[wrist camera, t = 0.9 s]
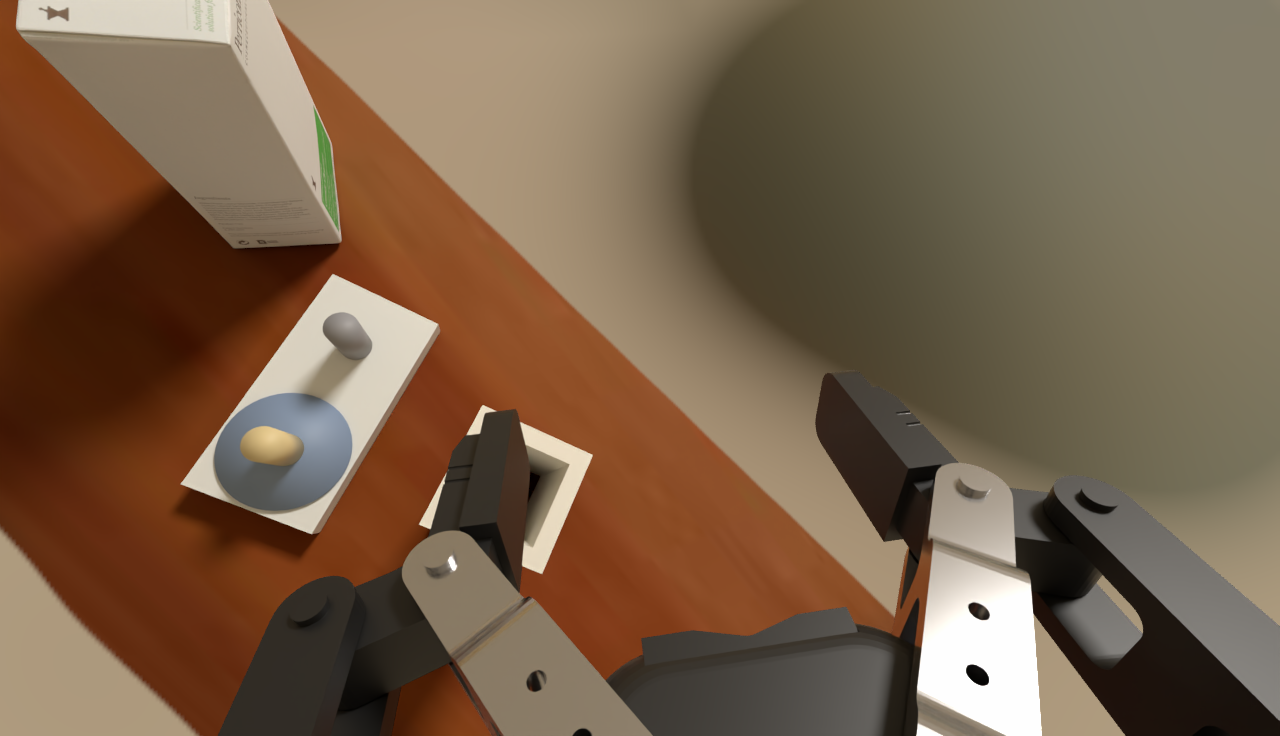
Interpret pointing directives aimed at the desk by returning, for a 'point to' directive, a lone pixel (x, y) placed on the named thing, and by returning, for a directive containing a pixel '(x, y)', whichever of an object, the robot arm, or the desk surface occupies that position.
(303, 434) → the pin board
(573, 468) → the sleeve
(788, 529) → the desk surface
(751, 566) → the desk surface
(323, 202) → the skincare box
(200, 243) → the desk surface
